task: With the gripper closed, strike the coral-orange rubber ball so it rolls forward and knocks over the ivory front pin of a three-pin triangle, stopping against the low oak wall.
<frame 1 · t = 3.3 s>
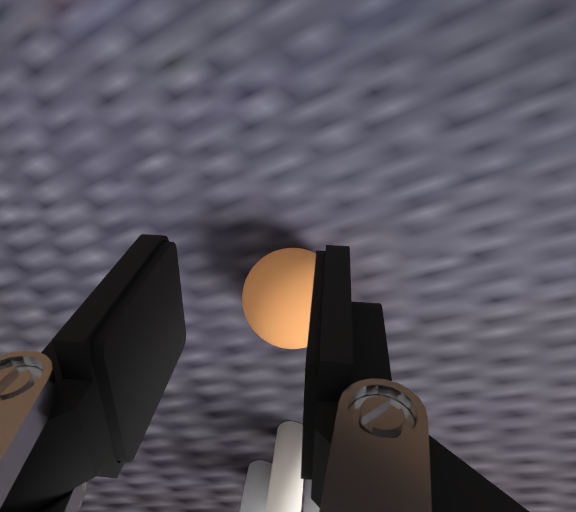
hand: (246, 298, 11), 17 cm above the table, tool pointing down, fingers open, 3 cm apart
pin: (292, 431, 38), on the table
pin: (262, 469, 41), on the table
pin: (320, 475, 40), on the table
ball: (292, 297, 28), on the table
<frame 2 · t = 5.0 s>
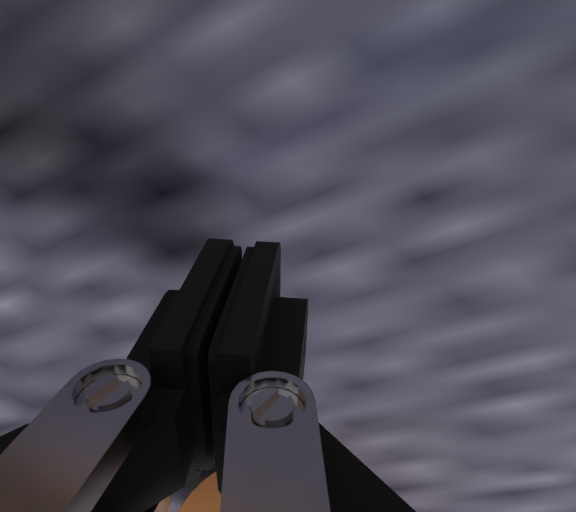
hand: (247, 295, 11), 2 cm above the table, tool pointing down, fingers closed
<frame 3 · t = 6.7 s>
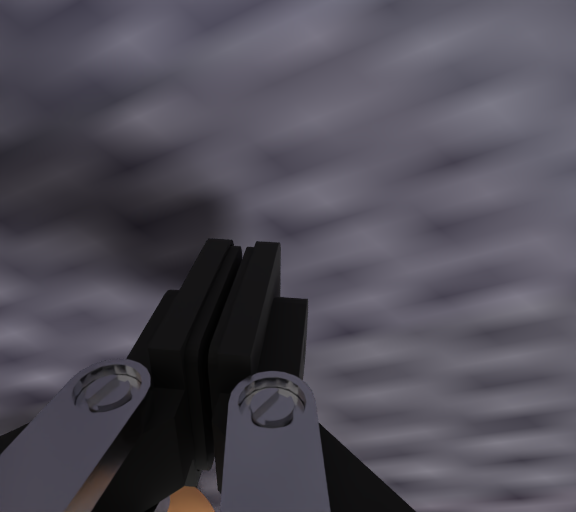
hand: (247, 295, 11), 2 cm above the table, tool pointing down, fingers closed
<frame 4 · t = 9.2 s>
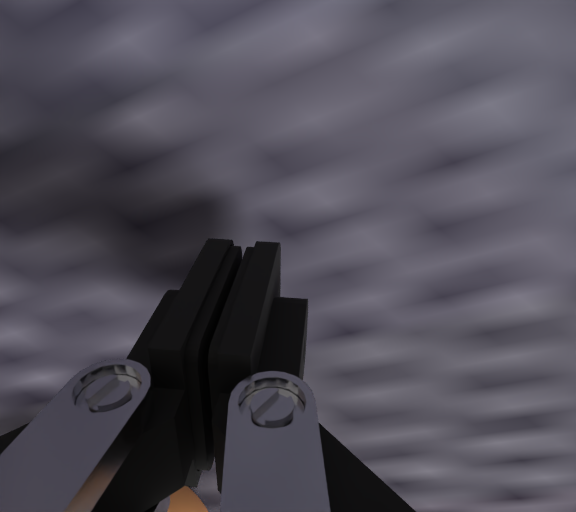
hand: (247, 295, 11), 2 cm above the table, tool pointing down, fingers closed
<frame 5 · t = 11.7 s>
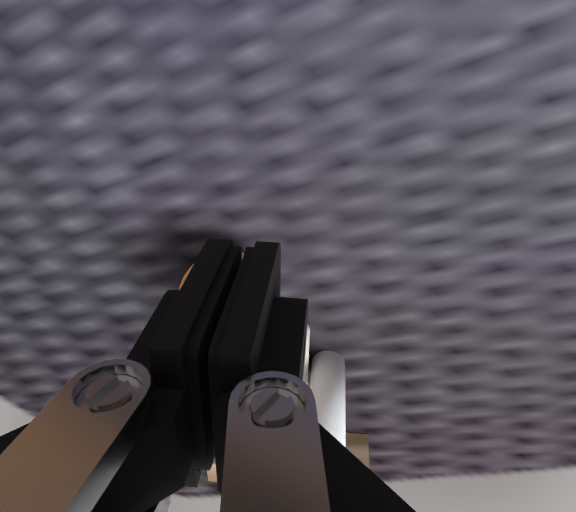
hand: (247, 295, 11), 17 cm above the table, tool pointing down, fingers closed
back wall: (292, 436, 38), on the table
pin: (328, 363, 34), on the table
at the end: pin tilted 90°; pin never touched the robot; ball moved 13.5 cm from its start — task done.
